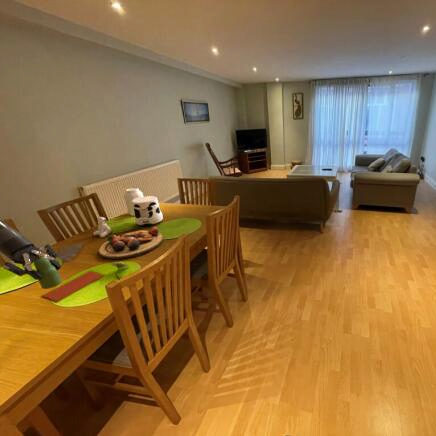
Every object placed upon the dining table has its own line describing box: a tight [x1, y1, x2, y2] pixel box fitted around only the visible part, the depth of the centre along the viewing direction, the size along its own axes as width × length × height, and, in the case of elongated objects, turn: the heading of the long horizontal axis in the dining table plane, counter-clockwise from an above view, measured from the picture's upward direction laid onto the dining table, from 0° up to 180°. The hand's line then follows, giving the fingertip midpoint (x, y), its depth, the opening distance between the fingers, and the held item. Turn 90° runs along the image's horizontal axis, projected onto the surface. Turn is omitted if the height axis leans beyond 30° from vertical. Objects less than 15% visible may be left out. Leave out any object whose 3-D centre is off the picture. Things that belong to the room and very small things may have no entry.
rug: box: [56, 243, 84, 263], centre depth 134 cm, size 10×20×1 cm, turn 26°
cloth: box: [42, 270, 105, 303], centre depth 108 cm, size 19×10×1 cm, turn 160°
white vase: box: [123, 187, 144, 217], centre depth 187 cm, size 12×12×20 cm
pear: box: [33, 255, 63, 290], centre depth 89 cm, size 6×6×13 cm
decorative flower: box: [110, 261, 130, 280], centre depth 115 cm, size 8×6×15 cm
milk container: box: [132, 195, 164, 227], centre depth 170 cm, size 17×17×18 cm
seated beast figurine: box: [92, 216, 112, 239], centre depth 154 cm, size 10×9×12 cm
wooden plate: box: [98, 226, 163, 260], centre depth 141 cm, size 32×32×8 cm
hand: (50, 273), depth 89 cm, fingers closed on pear, 5 cm apart
